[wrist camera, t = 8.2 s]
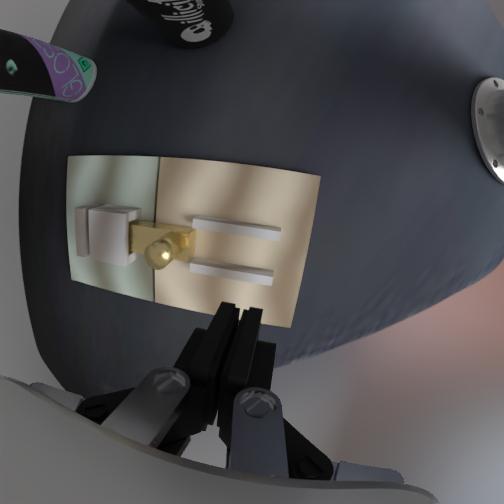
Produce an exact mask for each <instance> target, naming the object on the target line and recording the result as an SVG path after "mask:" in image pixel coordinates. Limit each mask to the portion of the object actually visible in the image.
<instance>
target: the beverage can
mask: <svg viewBox="0 0 504 504" xmlns="http://www.w3.org/2000/svg"><path fill="white" fill-rule="evenodd" d="M126 1H127V2H128V3H129V4H131V5H132V6H133V7H134V8H135V9H136V10H138V11H139V12H140V13H141V14H142V15H143V16H144V17H145V18H147V19H148V20H149V21H150V22H151V23H152V24H153V25H154V26H155V27H156V28H158V29H159V30H160V31H161V32H162V33H163V34H164V35H165V36H166V37H167V38H168V39H169V40H170V41H171V42H172V43H174V44H175V45H178V46H180V47H185V48H197V47H202V46H205V45H208V44H210V43H213V42H214V41H216V40H218V39H219V38H221V37H222V36H223V35H224V34H225V33H226V32H227V31H228V29H229V28H230V26H231V24H232V22H233V10H232V7H231V5H230V2H229V0H126Z"/></svg>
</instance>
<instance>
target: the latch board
mask: <svg viewBox="0 0 504 504" xmlns="http://www.w3.org/2000/svg"><path fill="white" fill-rule="evenodd" d="M320 178H321V176H317V175H311V174H306V173H300V172H294V171H288V170H282V169H275V168H268V167H261V166H254V165H246V164H238V163H229V162H220V161H210V160H199V159H186V158H171V157H153V156H118V155H92V156H68V165H67V192H66V208H67V236H68V250H69V261H70V270H71V278H72V280H75V281H79V282H82V283H85V284H89V285H92V286H96V287H99V288H103V289H106V290H110V291H114V292H117V293H121V294H125V295H129V296H132V297H136V298H140V299H144V300H148V301H153V300H154V299H155V302H157V303H161V304H165V305H170V306H174V307H179V308H183V309H188V310H193V311H197V312H202V313H207V314H212V315H215V314H216V312H217V310H218V308H219V306H220V304H221V302H222V301H224V302H229V303H234V304H236V308H240V314H239V320H240V319H241V316H242V313H243V310H244V309H246V310H249V308H250V307H255V308H260V309H263V313H262V319H261V323H262V324H268V325H275V326H281V327H288V328H290V327H291V323H292V319H293V314H294V310H295V306H296V302H297V297H298V293H299V288H300V284H301V279H302V274H303V270H304V265H305V260H306V255H307V250H308V245H309V240H310V235H311V230H312V224H313V219H314V213H315V208H316V202H317V196H318V190H319V184H320ZM132 220H140V221H147V222H155V223H161V224H168V225H175V226H182V227H189V228H194V229H196V238H195V251H194V256H193V257H192V258H191V259H190V260H189V261H188V262H185V261H179V260H173V261H171V262H170V263H169V264H168V265H167V266H166V267H165V268H163V269H161V270H155V269H153V268H151V267H150V266H149V265H148V264H147V263H146V261H145V258H144V254H141V253H136V252H131V251H129V247H128V228H129V222H130V221H132Z"/></svg>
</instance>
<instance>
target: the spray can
mask: <svg viewBox="0 0 504 504" xmlns="http://www.w3.org/2000/svg"><path fill="white" fill-rule="evenodd" d="M96 75H97V67H96V64H95V63H94V62H93V61H92V60H90V59H88V58H86V57H83V56H81V55H79V54H76V53H73V52H71V51H68V50H66V49H63V48H60V47H57V46H55V45H52V44H49V43H46V42H43V41H40V40H37V39H34V38H30V37H27V36H24V35H20V34H17V33H13V32H9V31H6V30H2V29H0V93H6V94H17V95H25V96H33V97H40V98H47V99H53V100H59V101H65V102H77V101H79V100H81V99H83V98H84V97H85V96H86V95H87V94H88V92H89V91H90V90H91V88H92V86H93V84H94V82H95V79H96Z"/></svg>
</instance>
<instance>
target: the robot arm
mask: <svg viewBox="0 0 504 504" xmlns="http://www.w3.org/2000/svg"><path fill="white" fill-rule="evenodd" d="M471 119H472V127H473V132H474V137H475V140H476V144H477V147H478V149H479V152H480V154H481V157H482V159H483V161H484V163H485V165H486V167H487V168H488V169H489V171H490V172H491V174H492V175H493V176H494V177H495V178H496V179H497V180H498V181H499V182H501V183H502V184H504V80H503V79H500V78H497V77H491V78H487V79H484V80H483V81H481V82H480V83H479V84H478V85H477V86H476V88H475V90H474V93H473V96H472V101H471ZM262 313H263V309H260V308H255V307H250V308H249V310H246V309H244V310H243V313H242V316H241V319H240V322H239V314H240V308H236V304H234V303H229V302H224V301H222V302H221V304H220V306H219V308H218V310H217V312H216V314H215V316H214V318H213V320H212V321H211V323H210V325H209V327H208V329H207V330H205V329H201V328H196V329H195V330H194V332H193V333H192V335H191V337H190V338H189V340H188V342H187V344H186V345H185V347H184V349H183V351H182V352H181V354H180V356H179V358H178V359H177V361H176V363H175V365H174V366H173V367H161V368H157V369H155V370H153V371H151V372H150V373H149V374H148V375H147V376H146V377H145V378H144V379H143V380H142V381H141V382H140V383H139V385H138V386H137V387H135V388H131V389H126V390H122V391H118V392H113V393H108V394H104V395H99V396H94V397H90V398H87V399H83V398H82V396H81V395H77V394H74V393H71V392H67V391H64V390H61V389H58V388H55V387H51V386H49V385H46V384H43V383H32V384H30V385H28V384H26V383H24V382H21V381H18V380H16V379H13V378H11V377H7V376H3V375H0V504H440V503H439V501H438V499H437V498H436V497H435V496H434V495H433V494H432V493H430V492H429V491H427V490H425V489H422V488H420V487H416V486H413V485H409V484H405V483H404V478H403V476H402V475H401V474H400V473H399V472H398V471H396V470H393V469H390V468H381V467H374V466H367V465H361V464H355V463H350V462H345V461H340V462H339V463H337V462H332V461H331V460H330V459H329V458H328V457H327V456H326V455H325V454H324V453H322V452H321V451H320V450H319V449H318V448H316V447H315V446H314V445H313V444H312V443H310V441H308V440H307V439H306V438H305V437H304V436H303V435H302V434H300V433H299V432H298V431H297V430H296V429H295V428H294V427H292V425H291V424H290V423H289V422H287V421H286V420H285V419H284V418H283V414H282V405H281V402H280V399H279V398H278V397H277V395H275V394H274V393H273V392H271V391H270V388H271V380H272V372H273V366H274V358H275V350H276V343H270V342H264V341H259V340H258V336H259V330H260V325H261V319H262ZM238 322H239V325H238ZM217 411H218V418H217V419H218V420H217V426H218V427H220V430H219V437H220V438H221V440H222V441H223V442H224V443H225V445H226V446H227V451H226V452H227V453H226V466H225V468H220V467H215V466H211V465H207V464H203V463H200V462H196V461H192V460H189V459H185V458H182V457H181V455H182V454H183V452H184V451H185V449H186V447H187V446H188V444H189V442H190V441H191V438H192V435H194V434H197V433H199V432H201V430H202V431H206V428H207V425H208V424H209V425H213V423H214V420H215V417H216V414H217Z"/></svg>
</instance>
